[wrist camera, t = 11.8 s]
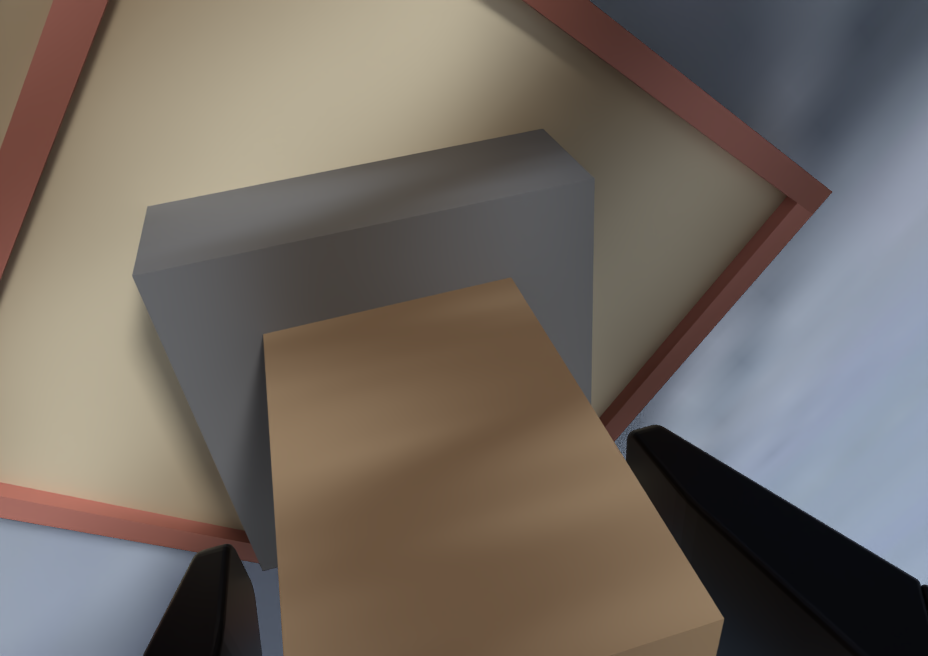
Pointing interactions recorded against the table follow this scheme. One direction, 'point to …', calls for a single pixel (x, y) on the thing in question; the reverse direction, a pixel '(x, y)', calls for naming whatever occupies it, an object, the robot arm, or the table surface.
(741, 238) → the board
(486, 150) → the stamp
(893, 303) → the table surface
